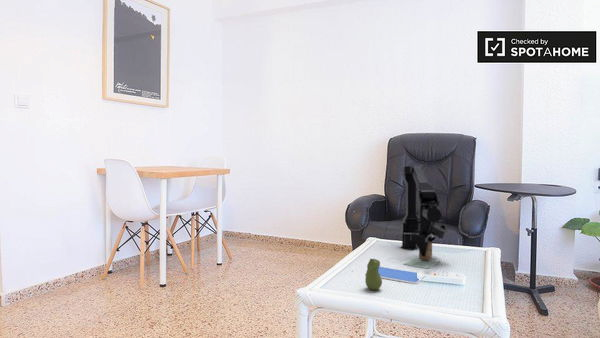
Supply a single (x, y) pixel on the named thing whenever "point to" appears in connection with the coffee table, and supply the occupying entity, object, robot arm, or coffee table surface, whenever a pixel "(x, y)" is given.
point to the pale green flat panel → (421, 263)
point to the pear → (373, 275)
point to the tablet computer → (398, 275)
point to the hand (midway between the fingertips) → (425, 255)
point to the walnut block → (427, 252)
